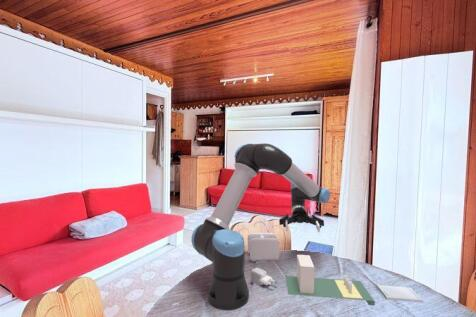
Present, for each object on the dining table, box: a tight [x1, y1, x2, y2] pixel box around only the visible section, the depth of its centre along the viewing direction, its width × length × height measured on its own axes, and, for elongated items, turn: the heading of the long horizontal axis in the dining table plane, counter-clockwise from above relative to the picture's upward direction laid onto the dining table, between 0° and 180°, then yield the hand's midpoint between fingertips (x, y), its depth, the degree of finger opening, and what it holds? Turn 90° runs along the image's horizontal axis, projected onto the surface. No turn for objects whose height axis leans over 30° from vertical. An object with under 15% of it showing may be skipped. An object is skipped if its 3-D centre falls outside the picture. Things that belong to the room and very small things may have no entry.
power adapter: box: [250, 267, 279, 287], centre depth 94 cm, size 11×5×6 cm, turn 46°
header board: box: [285, 274, 376, 306], centre depth 91 cm, size 30×13×6 cm, turn 83°
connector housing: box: [296, 254, 315, 294], centre depth 92 cm, size 5×10×10 cm, turn 173°
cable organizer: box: [247, 232, 280, 263], centre depth 120 cm, size 15×11×12 cm
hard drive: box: [376, 284, 424, 303], centre depth 90 cm, size 2×8×12 cm
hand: (302, 228), depth 103 cm, fingers open, 13 cm apart
